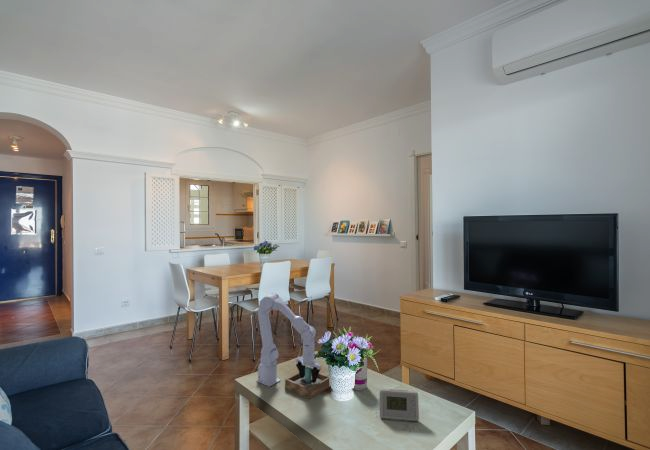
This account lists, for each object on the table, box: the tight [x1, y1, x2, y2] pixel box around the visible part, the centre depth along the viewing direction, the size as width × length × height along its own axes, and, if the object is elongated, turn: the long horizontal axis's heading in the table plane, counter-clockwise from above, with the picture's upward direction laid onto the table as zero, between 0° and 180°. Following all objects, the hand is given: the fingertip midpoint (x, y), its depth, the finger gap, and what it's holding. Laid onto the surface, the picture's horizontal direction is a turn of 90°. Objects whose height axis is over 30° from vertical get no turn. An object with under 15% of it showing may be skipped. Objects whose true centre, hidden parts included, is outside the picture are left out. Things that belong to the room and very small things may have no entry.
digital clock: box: [379, 388, 420, 422], centre depth 141 cm, size 16×9×11 cm, turn 71°
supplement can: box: [353, 357, 368, 391], centre depth 166 cm, size 8×8×15 cm
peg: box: [305, 366, 313, 384], centre depth 165 cm, size 3×3×9 cm
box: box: [284, 371, 330, 400], centre depth 165 cm, size 16×16×4 cm
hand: (308, 379), depth 165 cm, fingers open, 7 cm apart
